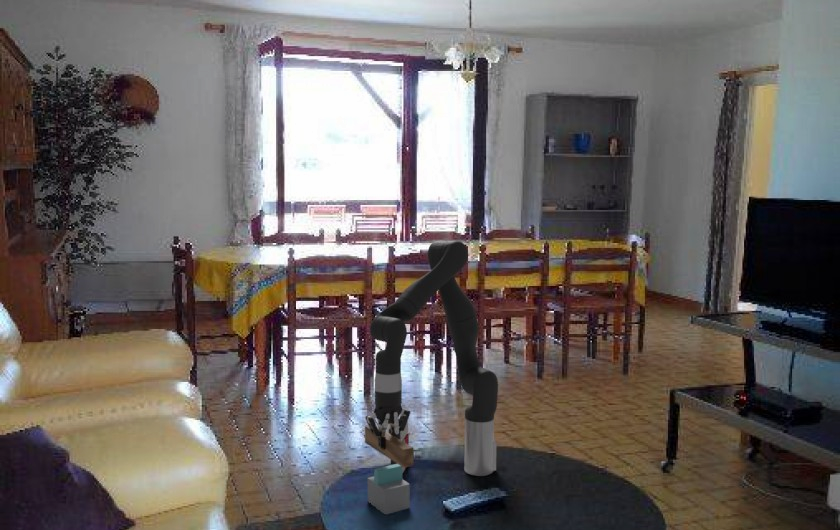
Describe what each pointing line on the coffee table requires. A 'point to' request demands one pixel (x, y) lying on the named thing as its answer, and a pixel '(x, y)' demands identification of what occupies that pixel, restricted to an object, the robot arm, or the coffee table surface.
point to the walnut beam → (391, 448)
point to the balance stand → (389, 489)
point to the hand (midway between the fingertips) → (388, 447)
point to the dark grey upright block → (403, 437)
